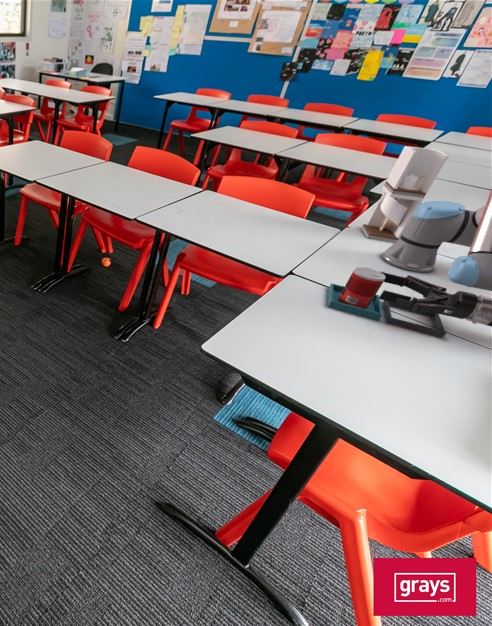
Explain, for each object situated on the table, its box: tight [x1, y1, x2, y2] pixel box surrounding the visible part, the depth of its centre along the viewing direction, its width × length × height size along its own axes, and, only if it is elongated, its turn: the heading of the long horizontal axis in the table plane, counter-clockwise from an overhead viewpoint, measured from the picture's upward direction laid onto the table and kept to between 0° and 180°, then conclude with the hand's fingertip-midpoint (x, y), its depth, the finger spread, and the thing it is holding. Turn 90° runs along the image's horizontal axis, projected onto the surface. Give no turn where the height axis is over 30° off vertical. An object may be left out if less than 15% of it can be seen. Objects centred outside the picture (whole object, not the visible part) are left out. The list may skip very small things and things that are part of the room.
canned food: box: [339, 266, 386, 309], centre depth 130 cm, size 8×8×11 cm
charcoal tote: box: [381, 300, 447, 339], centre depth 126 cm, size 13×13×2 cm
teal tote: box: [327, 283, 384, 322], centre depth 132 cm, size 13×13×2 cm
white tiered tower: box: [360, 145, 449, 243], centre depth 171 cm, size 11×11×35 cm
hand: (379, 284), depth 127 cm, fingers open, 13 cm apart
